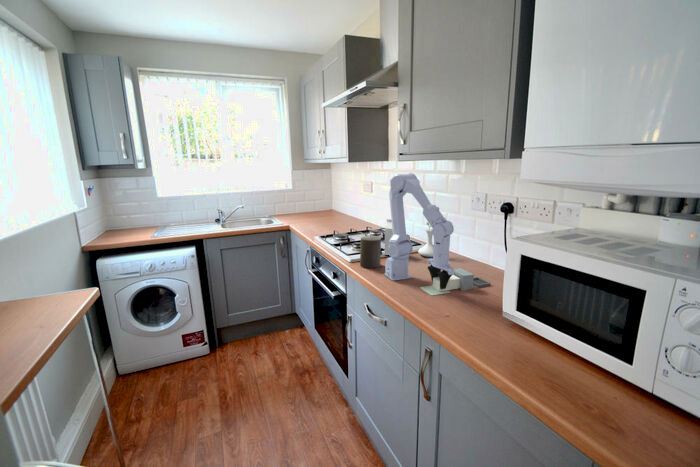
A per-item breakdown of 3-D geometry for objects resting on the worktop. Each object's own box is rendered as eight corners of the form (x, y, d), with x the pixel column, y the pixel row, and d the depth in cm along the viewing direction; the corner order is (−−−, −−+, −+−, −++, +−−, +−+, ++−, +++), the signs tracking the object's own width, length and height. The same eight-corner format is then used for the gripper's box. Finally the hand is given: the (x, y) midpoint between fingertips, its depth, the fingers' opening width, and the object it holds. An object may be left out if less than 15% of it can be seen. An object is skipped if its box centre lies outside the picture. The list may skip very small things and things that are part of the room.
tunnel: (462, 290, 123) (463, 276, 122) (449, 283, 131) (450, 269, 129) (472, 288, 125) (473, 274, 124) (459, 281, 132) (460, 268, 131)
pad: (431, 295, 119) (431, 295, 119) (419, 287, 126) (419, 287, 126) (450, 292, 122) (450, 292, 121) (438, 284, 129) (438, 284, 129)
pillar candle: (367, 270, 146) (368, 238, 143) (356, 264, 155) (356, 234, 151) (384, 266, 151) (385, 236, 148) (372, 261, 159) (373, 232, 156)
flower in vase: (441, 258, 162) (445, 210, 157) (419, 258, 164) (421, 210, 158) (437, 251, 175) (440, 206, 169) (416, 251, 176) (418, 206, 171)
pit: (477, 287, 126) (478, 285, 126) (465, 281, 133) (465, 278, 133) (490, 285, 128) (490, 283, 128) (477, 279, 135) (477, 277, 135)
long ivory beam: (439, 291, 122) (439, 281, 121) (432, 287, 126) (433, 277, 125) (464, 287, 126) (465, 277, 125) (457, 283, 130) (458, 273, 129)
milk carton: (397, 257, 165) (398, 221, 161) (384, 255, 168) (385, 220, 163) (400, 253, 172) (401, 219, 168) (387, 252, 174) (388, 218, 170)
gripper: (462, 257, 116) (459, 291, 119) (438, 247, 129) (436, 278, 132) (446, 259, 113) (443, 294, 116) (423, 248, 127) (422, 280, 130)
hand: (438, 286), depth 124 cm, fingers closed on long ivory beam, 4 cm apart
